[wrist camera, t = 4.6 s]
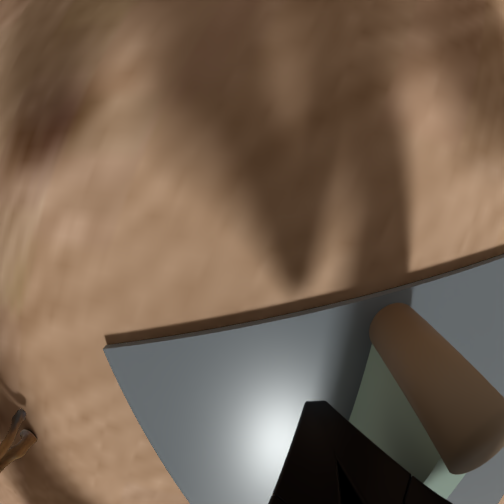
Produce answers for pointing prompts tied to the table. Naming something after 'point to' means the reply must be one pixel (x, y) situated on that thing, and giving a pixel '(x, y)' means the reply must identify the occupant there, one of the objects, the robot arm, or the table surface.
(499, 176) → the table surface
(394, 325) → the fence panel
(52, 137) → the table surface
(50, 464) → the table surface
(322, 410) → the robot arm
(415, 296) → the card
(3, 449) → the lion figurine
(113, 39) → the table surface
